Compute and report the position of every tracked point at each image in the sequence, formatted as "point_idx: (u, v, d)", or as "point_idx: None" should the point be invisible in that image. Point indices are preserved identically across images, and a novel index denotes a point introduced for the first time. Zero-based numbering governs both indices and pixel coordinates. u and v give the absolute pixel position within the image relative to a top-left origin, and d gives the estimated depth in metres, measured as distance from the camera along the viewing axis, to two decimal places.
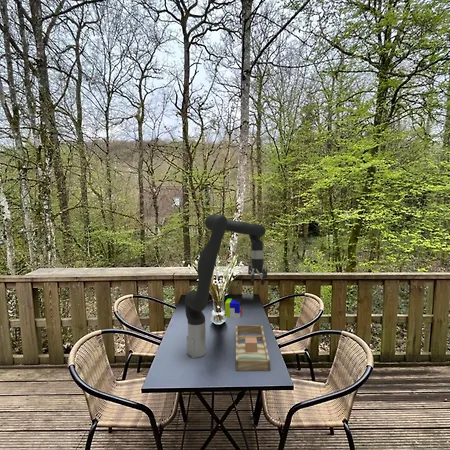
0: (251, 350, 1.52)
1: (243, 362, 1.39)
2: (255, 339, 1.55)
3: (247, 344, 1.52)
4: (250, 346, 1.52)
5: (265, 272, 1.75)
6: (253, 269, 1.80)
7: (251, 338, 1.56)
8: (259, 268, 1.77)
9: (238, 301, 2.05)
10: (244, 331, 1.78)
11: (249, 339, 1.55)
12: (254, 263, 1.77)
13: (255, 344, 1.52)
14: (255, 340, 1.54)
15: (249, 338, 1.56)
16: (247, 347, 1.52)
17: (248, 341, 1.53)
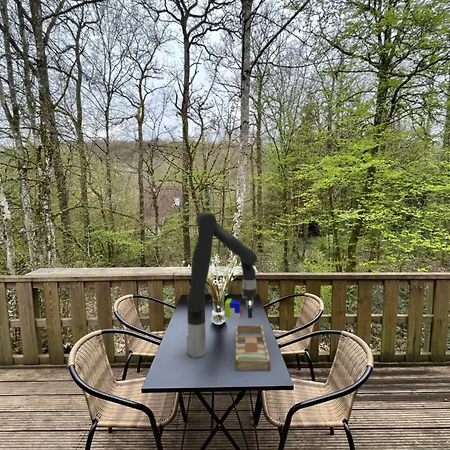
0: (251, 350, 1.52)
1: (243, 362, 1.39)
2: (255, 339, 1.55)
3: (247, 344, 1.52)
4: (250, 346, 1.52)
5: None
6: None
7: (251, 338, 1.56)
8: None
9: (238, 301, 2.05)
10: (244, 331, 1.78)
11: (249, 339, 1.55)
12: None
13: (255, 344, 1.52)
14: (255, 340, 1.54)
15: (249, 338, 1.56)
16: (247, 347, 1.52)
17: (248, 341, 1.53)
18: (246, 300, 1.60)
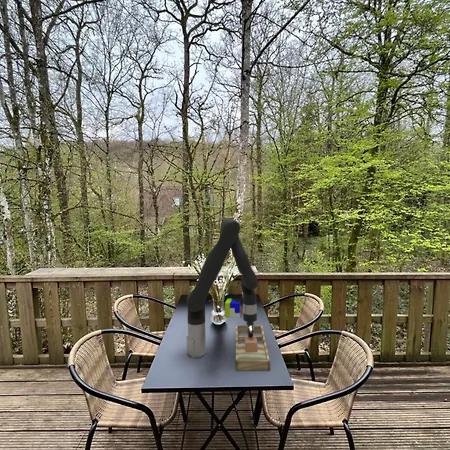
0: (251, 350, 1.52)
1: (243, 362, 1.39)
2: (255, 339, 1.55)
3: (247, 344, 1.52)
4: (250, 346, 1.52)
5: None
6: (253, 325, 1.59)
7: (251, 338, 1.56)
8: None
9: (238, 301, 2.05)
10: (244, 331, 1.78)
11: (249, 339, 1.55)
12: None
13: (255, 344, 1.52)
14: (255, 340, 1.54)
15: (249, 338, 1.56)
16: (247, 347, 1.52)
17: (248, 341, 1.53)
18: None
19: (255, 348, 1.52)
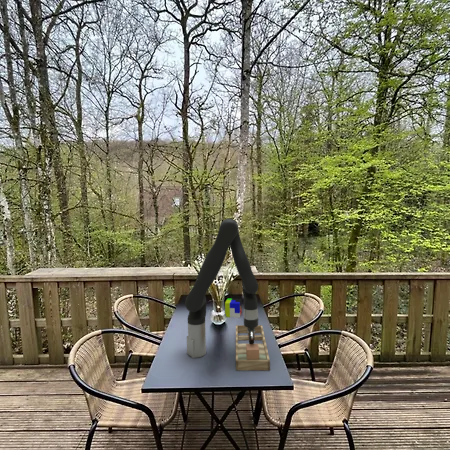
0: (253, 357, 1.45)
1: (243, 362, 1.39)
2: (257, 346, 1.48)
3: (249, 351, 1.45)
4: (252, 353, 1.45)
5: None
6: None
7: (252, 345, 1.49)
8: None
9: (238, 301, 2.05)
10: (244, 331, 1.78)
11: (250, 346, 1.48)
12: None
13: (257, 351, 1.44)
14: (257, 347, 1.47)
15: (250, 345, 1.49)
16: (249, 354, 1.45)
17: (250, 348, 1.46)
18: (247, 330, 1.51)
19: (257, 355, 1.45)
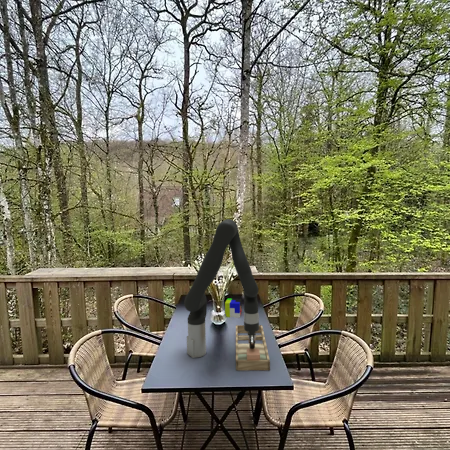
0: None
1: (243, 362, 1.39)
2: (258, 351, 1.43)
3: (249, 356, 1.40)
4: (252, 359, 1.40)
5: None
6: (255, 336, 1.47)
7: (253, 349, 1.44)
8: None
9: (238, 301, 2.05)
10: (244, 331, 1.78)
11: (251, 350, 1.43)
12: None
13: (258, 356, 1.40)
14: (258, 352, 1.42)
15: (251, 349, 1.44)
16: (249, 359, 1.40)
17: (250, 353, 1.41)
18: (248, 335, 1.46)
19: None
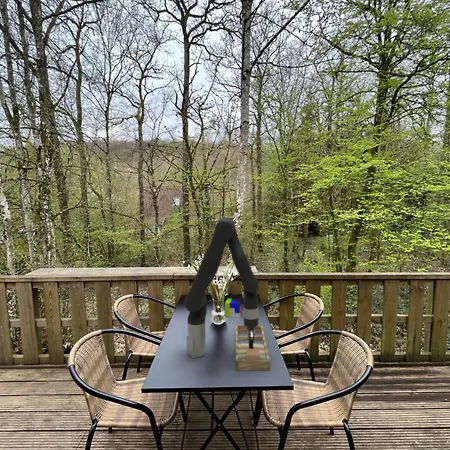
0: None
1: (243, 362, 1.39)
2: (258, 351, 1.43)
3: (249, 356, 1.40)
4: (252, 359, 1.40)
5: None
6: (254, 331, 1.49)
7: (253, 349, 1.44)
8: None
9: (238, 301, 2.05)
10: (244, 331, 1.78)
11: (251, 351, 1.43)
12: None
13: (258, 356, 1.40)
14: (258, 352, 1.42)
15: (251, 349, 1.44)
16: (249, 359, 1.40)
17: (250, 353, 1.41)
18: (247, 330, 1.49)
19: None
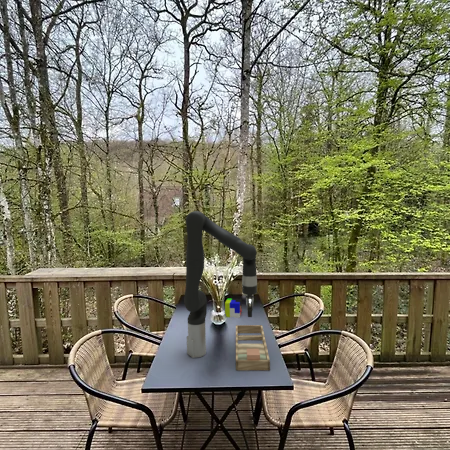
0: None
1: (243, 362, 1.39)
2: (258, 351, 1.43)
3: (249, 356, 1.40)
4: (252, 359, 1.40)
5: None
6: (253, 299, 1.50)
7: (253, 349, 1.44)
8: None
9: (238, 301, 2.05)
10: (244, 331, 1.78)
11: (251, 351, 1.43)
12: None
13: (258, 356, 1.40)
14: (258, 352, 1.42)
15: (251, 349, 1.44)
16: (249, 359, 1.40)
17: (250, 353, 1.41)
18: (246, 298, 1.49)
19: None
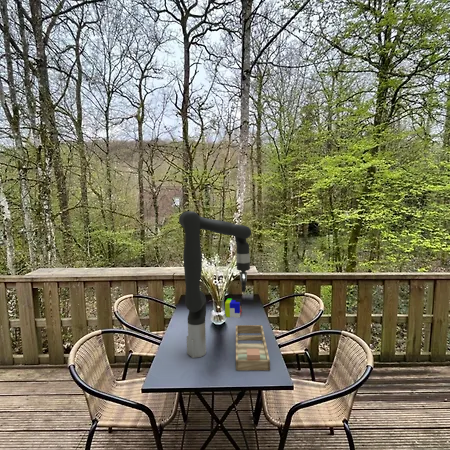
0: None
1: (243, 362, 1.39)
2: (258, 351, 1.43)
3: (249, 356, 1.40)
4: (252, 359, 1.40)
5: None
6: (246, 275, 1.64)
7: (253, 349, 1.44)
8: None
9: (238, 301, 2.05)
10: (244, 331, 1.78)
11: (251, 351, 1.43)
12: None
13: (258, 356, 1.40)
14: (258, 352, 1.42)
15: (251, 349, 1.44)
16: (249, 359, 1.40)
17: (250, 353, 1.41)
18: (240, 274, 1.63)
19: None
